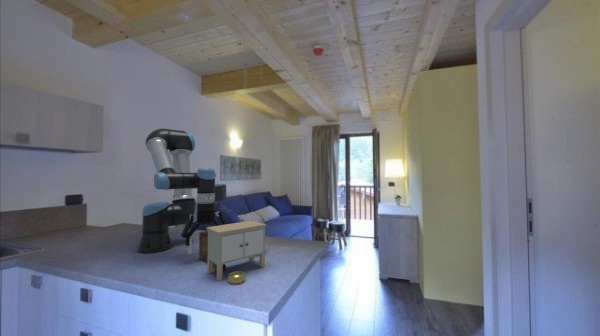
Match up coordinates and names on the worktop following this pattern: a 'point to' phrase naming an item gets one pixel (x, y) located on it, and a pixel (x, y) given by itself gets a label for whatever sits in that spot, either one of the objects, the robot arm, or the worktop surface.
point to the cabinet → (235, 244)
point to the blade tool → (205, 249)
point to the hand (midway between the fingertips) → (205, 249)
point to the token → (236, 277)
